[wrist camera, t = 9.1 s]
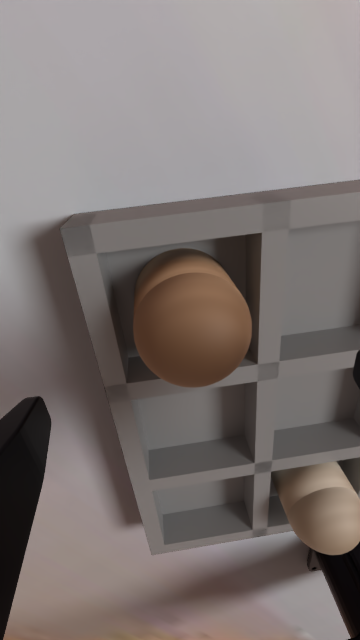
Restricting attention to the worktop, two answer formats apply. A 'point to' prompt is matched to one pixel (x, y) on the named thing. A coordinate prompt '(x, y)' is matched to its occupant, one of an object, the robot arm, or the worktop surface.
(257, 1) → the worktop surface
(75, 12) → the worktop surface
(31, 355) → the worktop surface
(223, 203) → the grey egg tray
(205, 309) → the brown egg
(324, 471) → the beige rounded cylinder
